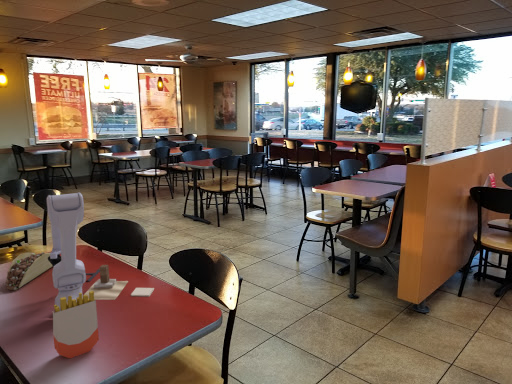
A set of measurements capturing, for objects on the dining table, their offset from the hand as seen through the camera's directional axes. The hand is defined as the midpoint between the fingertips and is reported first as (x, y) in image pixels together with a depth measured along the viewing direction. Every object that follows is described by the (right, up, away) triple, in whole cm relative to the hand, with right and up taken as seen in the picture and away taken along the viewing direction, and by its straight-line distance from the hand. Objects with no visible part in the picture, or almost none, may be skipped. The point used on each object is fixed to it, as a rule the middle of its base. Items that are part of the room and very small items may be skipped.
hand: (64, 270), depth 148 cm
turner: (+13, -8, +8) cm, 17 cm away
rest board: (+14, -9, +4) cm, 17 cm away
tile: (+29, -10, -1) cm, 30 cm away
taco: (-21, -7, +17) cm, 28 cm away
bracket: (-2, -7, +19) cm, 20 cm away
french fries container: (+21, -17, -34) cm, 43 cm away
